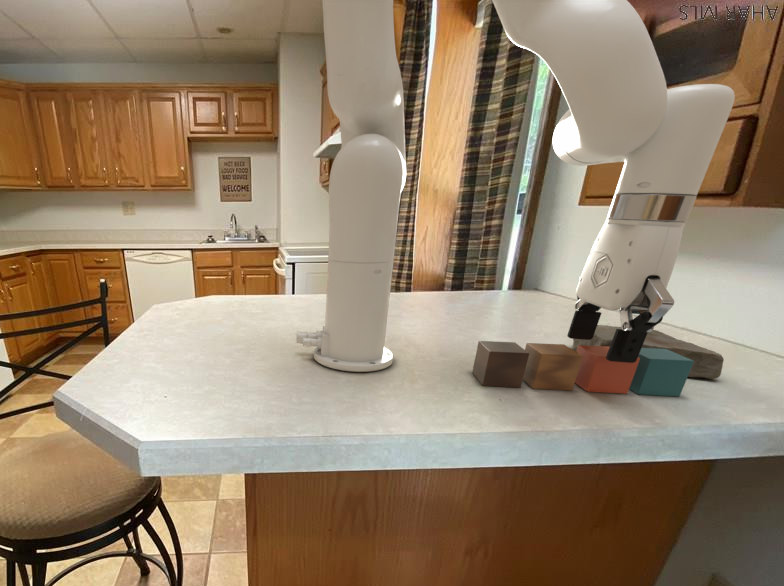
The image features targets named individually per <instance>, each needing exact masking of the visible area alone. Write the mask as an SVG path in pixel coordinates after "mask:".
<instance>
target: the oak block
mask: <svg viewBox="0 0 784 586" xmlns="http://www.w3.org/2000/svg"><path fill="white" fill-rule="evenodd" d="M524 350H526V351H527V352H528V353H529V357H528V361H527V365H526V369H525V373H524V377H523V381H524V382H525V383H526V384H527V385H528V386H530V388H532V389H537V390H551V391H552V390H554V391H555V390H556V391H573V390H574V386H575V384H576V383H575V380H576V376H577V373H578V370H579V366H580V363H581V360H582V355H581V354H579V353H577V352H576V350H573V349H572V347H569V346H567V345H566V344H561V343H539V342H537V343H536V342H526V344H525V347H524Z"/></svg>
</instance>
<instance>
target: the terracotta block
mask: <svg viewBox="0 0 784 586" xmlns="http://www.w3.org/2000/svg"><path fill="white" fill-rule="evenodd" d="M609 348H610V347H608V346H586V345H578V348H577V351H576V350H575V351H576V352H577V353H579V354H581V355H582V360H581V363H580V366H579V370H578V373H577V376H576V380H575V383H574V384H576V385H578V386H579V387H580V388H582V389H583V390H584V391H586V392H590V393H607V394H625V395H627V394H628V393H629V391H630V389H629V388H630V385H631V382H632V380H633V377H634V374H635V371H636V368H637V366H638V363H639V360H640V358H637V360H636V362H634V363H627V362H614V361H609V360H607V359H606V356H607V353H608V350H609Z"/></svg>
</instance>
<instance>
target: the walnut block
mask: <svg viewBox="0 0 784 586" xmlns="http://www.w3.org/2000/svg"><path fill="white" fill-rule="evenodd" d="M528 357H529V353H528V352H527V351H526V350H525V348H523V347H521V346H520V345H519V344H518V343H516V342H514V341H490V340H489V341H488V340H478V342H477V346H476V352H475V357H474V363H473V366H472V367H473V368H472V371H471V373H472V374H473V376H474V377H475V378H476V379H477V381H478V382H479V383H480V385H481V386H483V387H503V388H517V389H521V388H522V384H523V381H524V380H523V377H524V373H525V369H526V365H527V361H528Z"/></svg>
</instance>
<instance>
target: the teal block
mask: <svg viewBox="0 0 784 586" xmlns="http://www.w3.org/2000/svg"><path fill="white" fill-rule="evenodd" d="M638 358H640V360H639V363H638V366H637V368H636V371H635V374H634V377H633V380H632V382H631V385H630V388H629V391H631V392H633V393H635V394H637V395H645V396H660V397H661V396H662V397H663V396H664V397H681V394H682V392H683V389H684V387H685V384H686V382H687V380H688V378H689V377H688V375H689V372H690V370H691V368H692V365H693V363H694V361H693V360H691V359H689V358H686V357H684V356H682V355H679V354H677V353H675V352H672V351H670V350H668V349H655V348H641V351H640V353H639V356H638Z"/></svg>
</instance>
